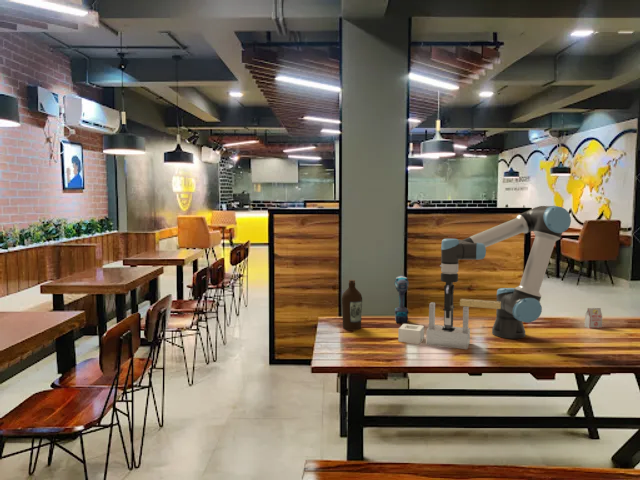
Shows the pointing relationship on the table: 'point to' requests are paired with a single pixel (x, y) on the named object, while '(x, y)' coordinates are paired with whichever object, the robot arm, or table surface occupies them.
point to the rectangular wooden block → (480, 303)
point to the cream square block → (411, 333)
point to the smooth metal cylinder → (450, 327)
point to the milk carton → (593, 318)
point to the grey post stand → (448, 332)
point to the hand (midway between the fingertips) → (448, 323)
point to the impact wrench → (401, 299)
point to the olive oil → (352, 307)
